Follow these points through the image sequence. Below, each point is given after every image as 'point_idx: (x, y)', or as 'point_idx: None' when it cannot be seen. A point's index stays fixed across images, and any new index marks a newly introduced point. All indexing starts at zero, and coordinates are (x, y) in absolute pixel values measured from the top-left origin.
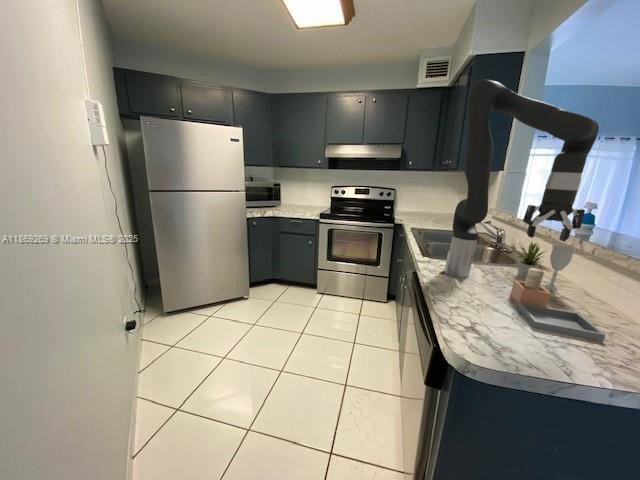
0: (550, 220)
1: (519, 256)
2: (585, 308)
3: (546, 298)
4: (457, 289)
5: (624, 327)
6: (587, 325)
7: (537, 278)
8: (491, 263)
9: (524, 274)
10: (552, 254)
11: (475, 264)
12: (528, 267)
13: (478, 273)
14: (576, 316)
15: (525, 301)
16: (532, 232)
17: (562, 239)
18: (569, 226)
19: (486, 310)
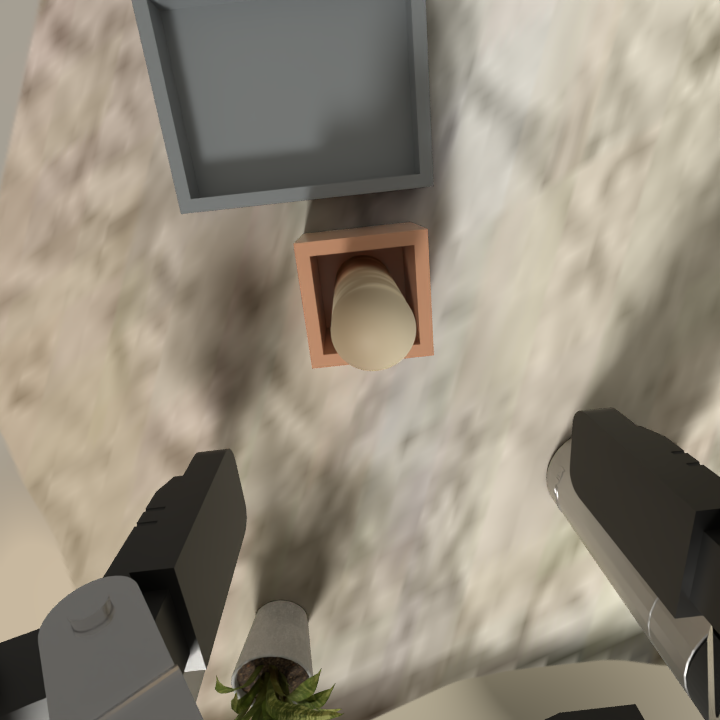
0: (562, 715)
1: (322, 701)
2: (119, 386)
3: (308, 238)
4: (642, 292)
5: (16, 264)
6: (173, 100)
7: (367, 279)
8: (390, 695)
9: (289, 613)
10: (197, 674)
11: (467, 649)
12: (279, 645)
13: (482, 547)
14: (193, 192)
15: (391, 227)
16: (654, 439)
17: (230, 468)
18: (104, 637)
19: (569, 100)
